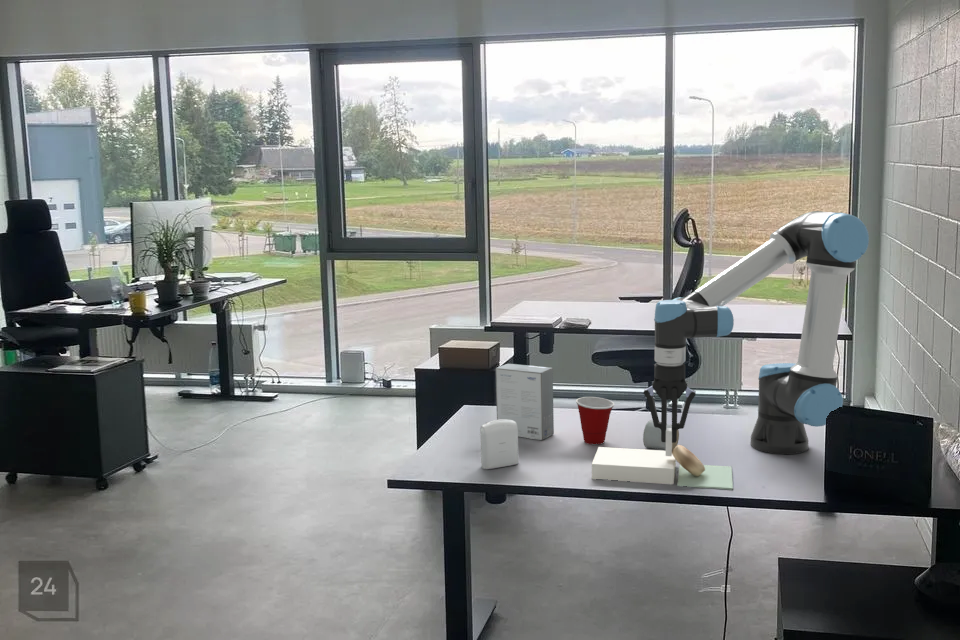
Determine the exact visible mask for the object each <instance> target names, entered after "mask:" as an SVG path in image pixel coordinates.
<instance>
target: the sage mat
mask: <svg viewBox="0 0 960 640" xmlns="http://www.w3.org/2000/svg"><path fill="white" fill-rule="evenodd" d="M703 465H704V467H705V471H704V472H703V473H702V474H701V475H700V476H695V475H693V474H691V473H690V472H688V471H687V470H686V469H684V468H683V467H682V466H681V465H680V464H679V466H678V467H679V468H678V477H677V485H676V486H677V487H683V486H687V487H688V488H698V489H699V488H701V489H703V488H704V489H717V490H729V491H730V490H733V489H734V487H733V485H734V483H733V468H732V466H731V465H729V466H728V465H711V464H710V465H709V464H703ZM687 487H686V488H687Z"/></svg>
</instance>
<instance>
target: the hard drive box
mask: <svg viewBox="0 0 960 640" xmlns="http://www.w3.org/2000/svg"><path fill="white" fill-rule="evenodd" d="M553 372H554V371H553V367H550V366H549V367H548V366H539V365H538V366H536V365H528V364H527V365H526V364H517V363H505V364H502V365H500V366H498V367H495V393H496V395H495V396H496V397H495V399H496V400H495V401H496V402H495V403H496V420H500V419H507V420H513V421H514V422H516V424H517V428H518V438H519V437H520V438H525V439H526V438H527V439H530V440H539V441H542V440H545V439H547V438H548V437H550V436H553V435H554V434H555V425H554V424H555V423H554V421H555V420H554V377H553V374H554V373H553Z"/></svg>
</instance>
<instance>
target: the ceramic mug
mask: <svg viewBox="0 0 960 640" xmlns="http://www.w3.org/2000/svg"><path fill="white" fill-rule="evenodd" d="M666 428H672V424H670V423H667V426H666ZM643 429H644V430H643V434H642V436H643V437H642V441H643V446H644V447H645V448H646V449H650V450H663V451H666V442H662V441H661V429H660V428H656V427H654V424H653V420H652V419H650V420H647V423H646V424H645V426H644V428H643ZM679 440H680V429H678V430H677V441H676V443H672V450H673V449H674V448H675V447H676V446H677V445H679Z"/></svg>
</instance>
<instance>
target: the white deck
mask: <svg viewBox="0 0 960 640" xmlns="http://www.w3.org/2000/svg"><path fill="white" fill-rule="evenodd" d="M676 462H677V460H676V459H675V458H674V456H673V454H672V456H666V451H664V450H658V449H644V448H643V449H642V448H640V449H639V448H626V447H625V448H622V447H621V448H620V447H608V446H607V447H606V446H605V447H603V446H598V447H597V450H596V453H595V455H594V457H593V460H592V463H591V480H596V479H608V480H607V481H611V480H618V481H617V482H627V481H630V482H629V483H645V484H646V483H647V484H658V485H659V484H662V485H674V482H675V477H676V476H675V474H676V468H675V467H677V466H676V464H677V463H676Z"/></svg>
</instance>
